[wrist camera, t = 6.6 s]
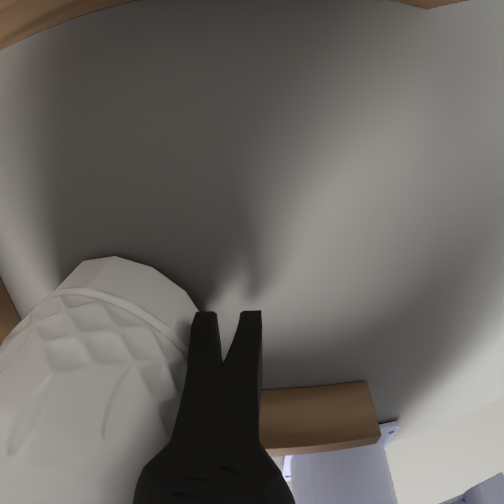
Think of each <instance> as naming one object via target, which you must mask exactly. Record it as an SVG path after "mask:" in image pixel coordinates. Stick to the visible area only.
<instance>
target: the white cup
mask: <svg viewBox="0 0 504 504" xmlns="http://www.w3.org/2000/svg"><path fill="white" fill-rule="evenodd" d="M196 312H199V311H198V309H197V308H196V306H195V305H194V303H193V302H192V300H191V299H190V297H189V295H188V294H187V292H186V291H185V290H183V289H182V288H181V287H179V286H178V285H176V284H175V283H174V282H172V281H171V280H169V279H168V278H167V277H165V276H164V275H163V274H161V273H160V272H158V271H157V270H156V269H154V268H153V267H150V266H147V265H144V264H140V263H137V262H133V261H130V260H127V259H123V258H120V257H117V256H111V257H104V258H98V259H91V260H85V261H83V262H81V263H80V264H79V265H78V266H77V267H76V268H75V269H74V270H73V271H72V272H71V273H70V274H69V275H68V276H67V277H66V278H65V279H64V280H63V282H62V283H61V284H60V285H59V286H58V287H57V288H56V289H55V290H54V291H53V292H52V293H51V294H50V295H49V296H48V297H47V298H46V299H45V300H44V301H43V302H41V303H39V304H37V305H35V306H34V307H33V308H32V309H31V311H30V312H29V313H28V314H27V316H26V317H25V318H24V319H23V320H22V321H21V322H20V323H19V324H18V325H17V326H16V327H15V328H14V329H13V330H12V331H11V332H10V333H9V335H8V336H7V337H6V339H5V340H4V342H3V343H2V345H1V346H0V504H133V498H134V491H135V487H136V484H137V481H138V478H139V476H140V474H141V471H142V469H143V467H144V466H145V465H146V464H147V463H148V462H149V461H150V460H151V459H152V458H153V457H154V456H155V455H156V454H157V453H159V452H160V451H161V450H162V449H163V448H164V447H165V446H166V445H167V444H168V442H169V441H170V439H171V436H172V432H173V429H174V426H175V422H176V418H177V414H178V410H179V406H180V402H181V398H182V394H183V389H184V385H185V380H186V373H187V363H188V352H189V341H190V332H191V325H192V322H193V319H194V316H195V313H196Z"/></svg>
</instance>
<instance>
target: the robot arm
mask: <svg viewBox="0 0 504 504" xmlns="http://www.w3.org/2000/svg"><path fill="white" fill-rule="evenodd" d="M261 387H262V318H261V310H259V311H243V312H241V313H240V319H239V323H238V327H237V330H236V333H235V336H234V339H233V342H232V344H231V346H230V349H229V351H228V354H227V356H226V358H225V360H224V362H223V361H222V357H221V342H220V335H219V328H218V320H217V314H216V313H215V312H213V311H210V312H196V313H195V316H194V319H193V322H192V325H191V332H190V341H189V352H188V363H187V373H186V380H185V385H184V389H183V394H182V398H181V402H180V406H179V410H178V414H177V418H176V422H175V426H174V429H173V432H172V436H171V439H170V441H169V442H168V444H167V445H166V446H165V447H164V448H163V449H162V450H161V451H160V452H159V453H157V454H156V455H155V456H154V457H153V458H152V459H151V460H150V461H149V462H148V463H147V464H146V465H145V466H144V467H143V469H142V471H141V474H140V476H139V478H138V481H137V484H136V487H135V491H134V498H133V504H398V503H397V498H396V494H395V490H394V485H393V481H392V477H391V472H390V469H389V464H388V461H387V457H386V452H385V449H384V448H385V447H386V446H387V444H388V443H389V442H390V440H391V439H392V437H393V436H394V435H395V433H396V432H397V430H398V429H399V427H400V424H399V422H397V421H394V422H389V423H385V424H379V427H380V431H381V437H380V438H379V440H378V441H377V443H376V444H372V445H366V446H361V447H355V448H349V449H343V450H336V451H328V452H320V453H311V454H301V455H288V456H284V461H283V468H282V473H281V471H280V469H279V468H278V467H277V465H276V464H275V463H274V461H273V460H272V459H271V457H270V456H269V454H268V453H267V451H266V450H265V448H264V447H263V445H262V444H261V442H260V441H259V417H260V402H261ZM286 481H291V484H292V493H291V491H290V489H289V487H288V485H287V483H286ZM440 504H504V474H503V473H499V474H497V475H495V476H493V477H491V478H489V479H487V480H485V481H483V482H481V483H480V484H478V485H476V486H474V487H472V488H470V489H469V490H467V491H466V492H465V493H464V494H461V495H459V496H457V497H454V498H452V499H450V500H447V501H445V502H442V503H440Z"/></svg>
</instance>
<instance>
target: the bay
mask: <svg viewBox="0 0 504 504" xmlns="http://www.w3.org/2000/svg"><path fill="white" fill-rule="evenodd" d="M131 1H135V0H0V50H2V49H4V48H6V47H8V46H10V45H12V44H14V43H16V42H18V41H20V40H22V39H24V38H26V37H28V36H31V35H33V34H35V33H37V32H40V31H42V30H44V29H47V28H49V27H52V26H54V25H57V24H59V23H62V22H65V21H67V20H70V19H73V18H76V17H79V16H82V15H85V14H88V13H91V12H94V11H97V10H101V9H104V8H108V7H111V6H115V5H119V4H123V3H127V2H131ZM392 1H396V2H401V3H405V4H408V5H412V6H416V7H419V8H423V9H426V10H427V9H431V8H435V7H439V6H443V5H448V4H452V3H457V2H462V1H467V0H392ZM20 322H21V319H20V317H19V315H18V314H17V312H16V310H15V308H14V306H13V304H12V302H11V300H10V298H9V296H8V293H7V291H6V289H5V287H4V285H3V283H2V280H1V278H0V346H1V345H2V343H3V342H4V340H5V339H6V337H7V336H8V335H9V333H10V332H11V331H12V330H13V329H14V328H15V327H16V326H17V325H18V324H19V323H20ZM380 437H381V431H380V427H379V424H378V420H377V417H376V413H375V410H374V406H373V403H372V399H371V396H370V393H369V389H368V386H367V383H366V381H360V382H352V383H344V384H335V385H326V386H315V387H303V388H288V389H270V390H261V402H260V417H259V441H260V442H261V444H262V445H263V447H264V448H265V450H266V451H267V453H268V454H269V456H270V457H272V456H288V455H301V454H311V453H320V452H328V451H336V450H343V449H349V448H355V447H361V446H366V445H372V444H376V443H377V441H378V440H379V438H380Z"/></svg>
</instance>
